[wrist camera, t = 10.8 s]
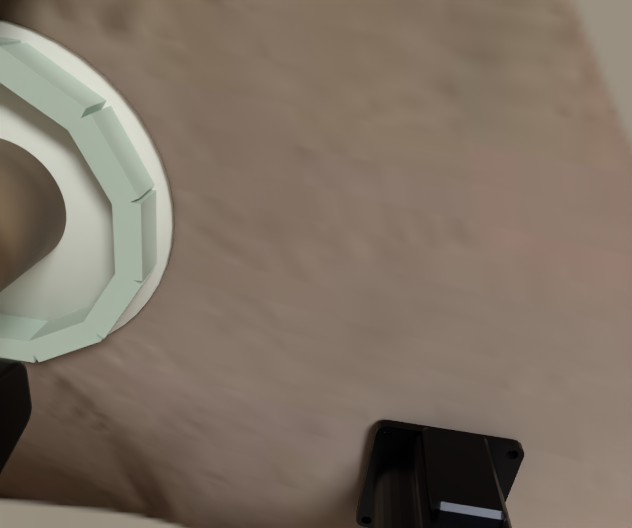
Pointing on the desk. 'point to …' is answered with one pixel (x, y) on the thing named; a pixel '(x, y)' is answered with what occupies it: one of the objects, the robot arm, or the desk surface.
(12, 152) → the brown domed cylinder
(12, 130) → the ring dish
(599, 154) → the desk surface
